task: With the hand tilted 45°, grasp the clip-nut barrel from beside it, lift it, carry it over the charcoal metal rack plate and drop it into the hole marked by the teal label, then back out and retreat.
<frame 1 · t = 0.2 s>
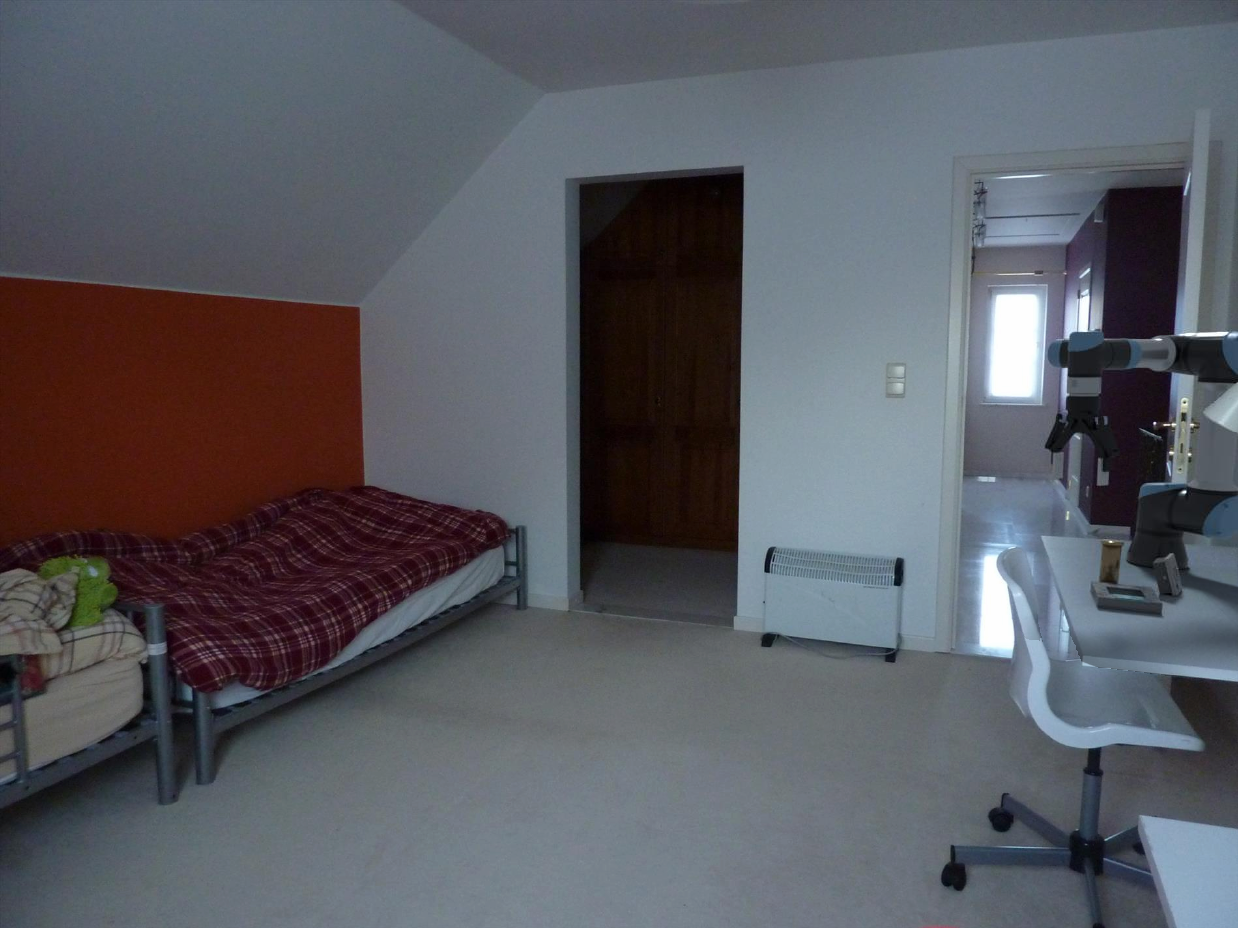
hand: (1079, 481, 225), 27 cm above the table, tool pointing down, fingers open, 13 cm apart
rack plate: (1124, 602, 217), on the table
clip-nut barrel: (1108, 583, 235), on the table
electrical switch: (1166, 592, 228), on the table
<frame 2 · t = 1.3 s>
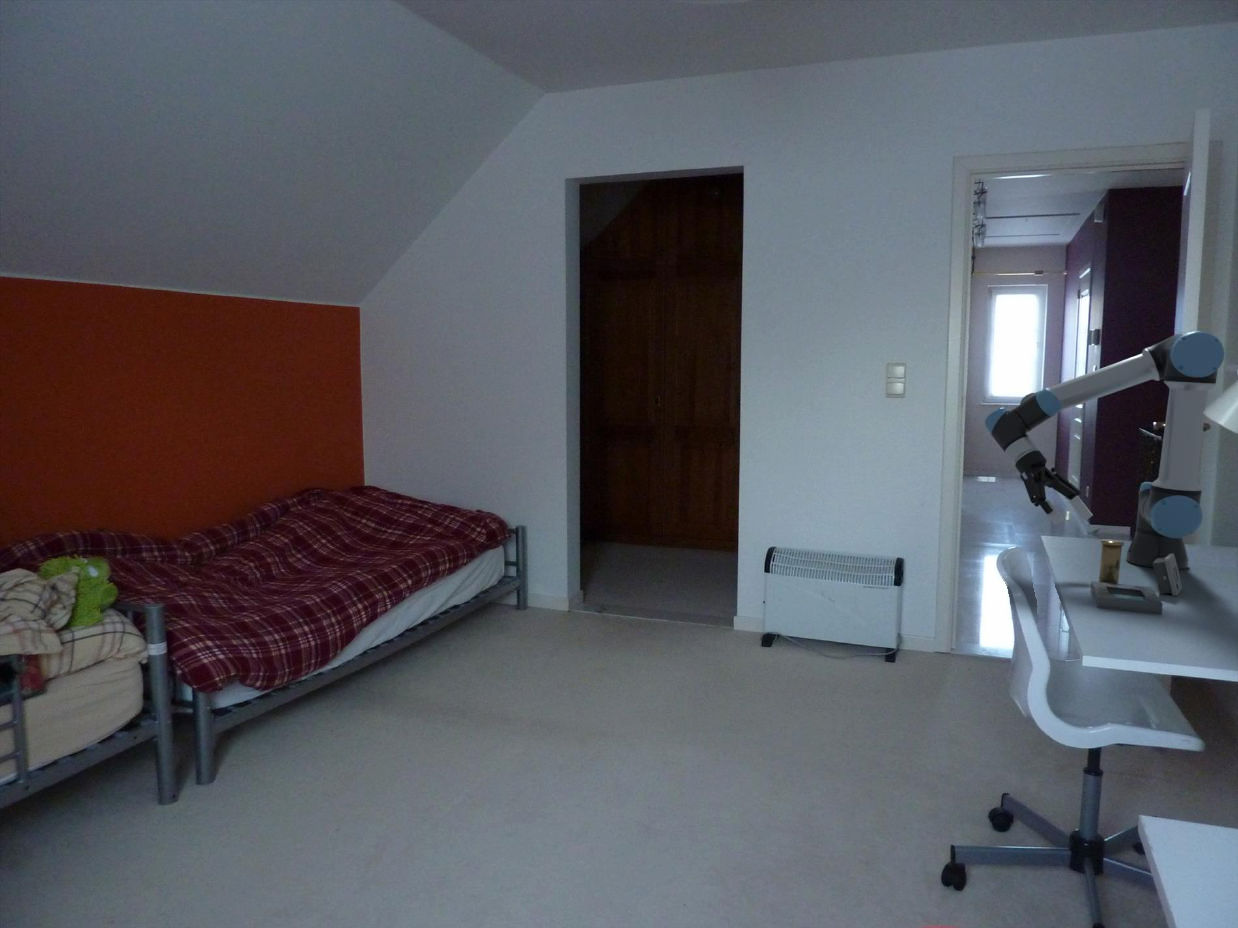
hand: (1074, 520, 241), 15 cm above the table, tool tilted 45°, fingers open, 13 cm apart
nothing on the table moved.
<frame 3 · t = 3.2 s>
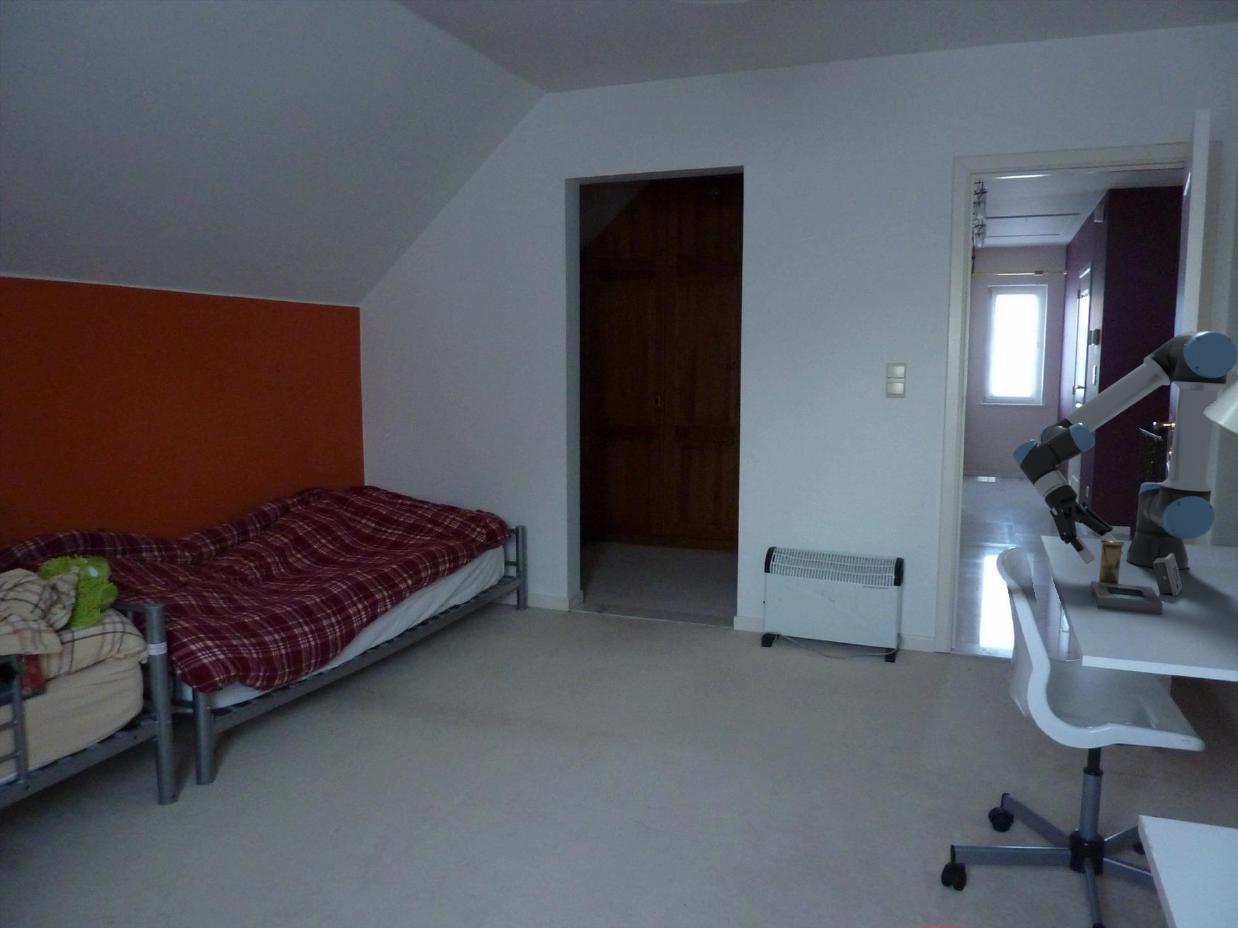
hand: (1106, 558, 234), 6 cm above the table, tool tilted 45°, fingers open, 13 cm apart
nothing on the table moved.
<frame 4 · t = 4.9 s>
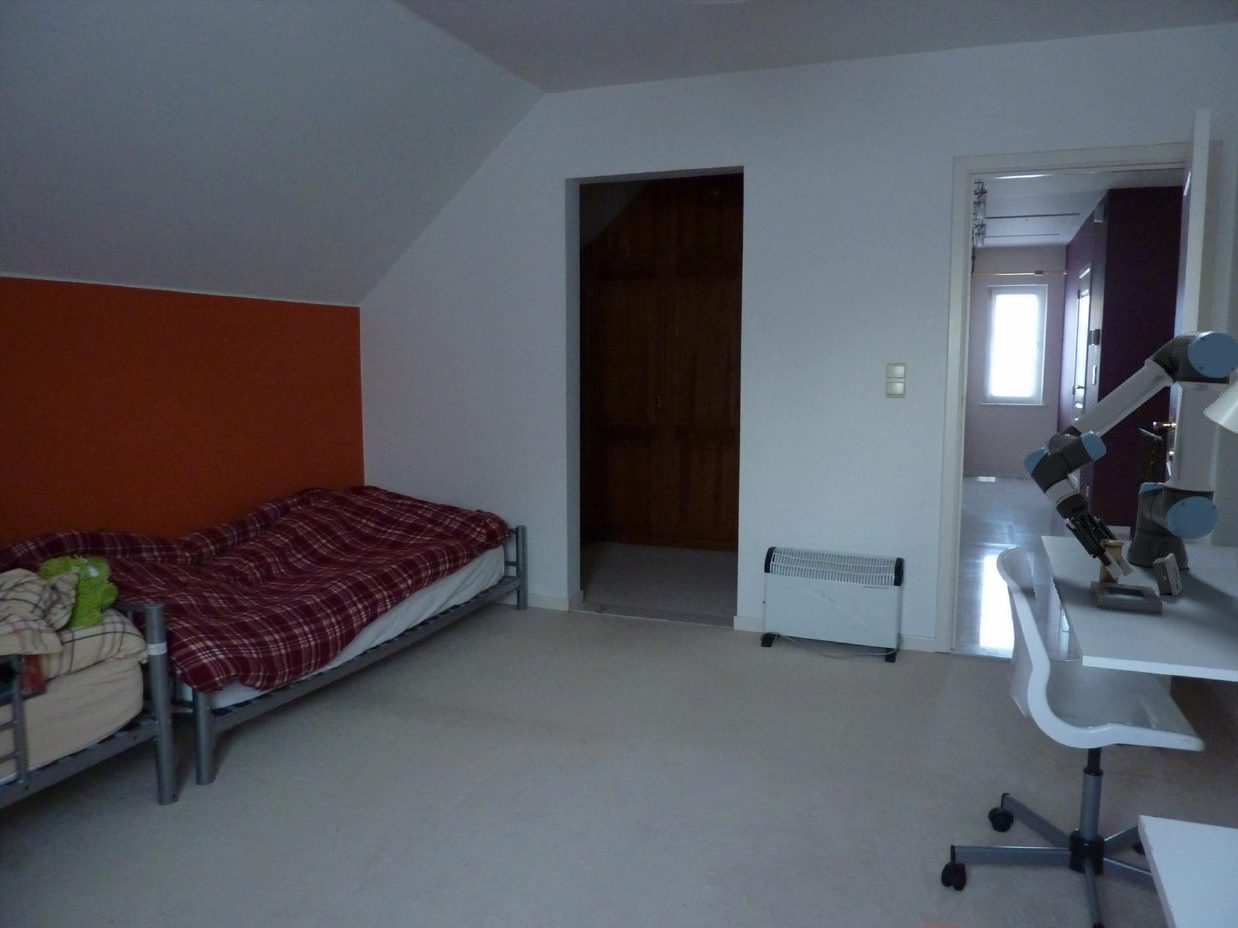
hand: (1124, 574, 231), 3 cm above the table, tool tilted 45°, fingers closed on clip-nut barrel, 4 cm apart
clip-nut barrel: (1108, 583, 235), on the table, touching gripper
everything else where it was.
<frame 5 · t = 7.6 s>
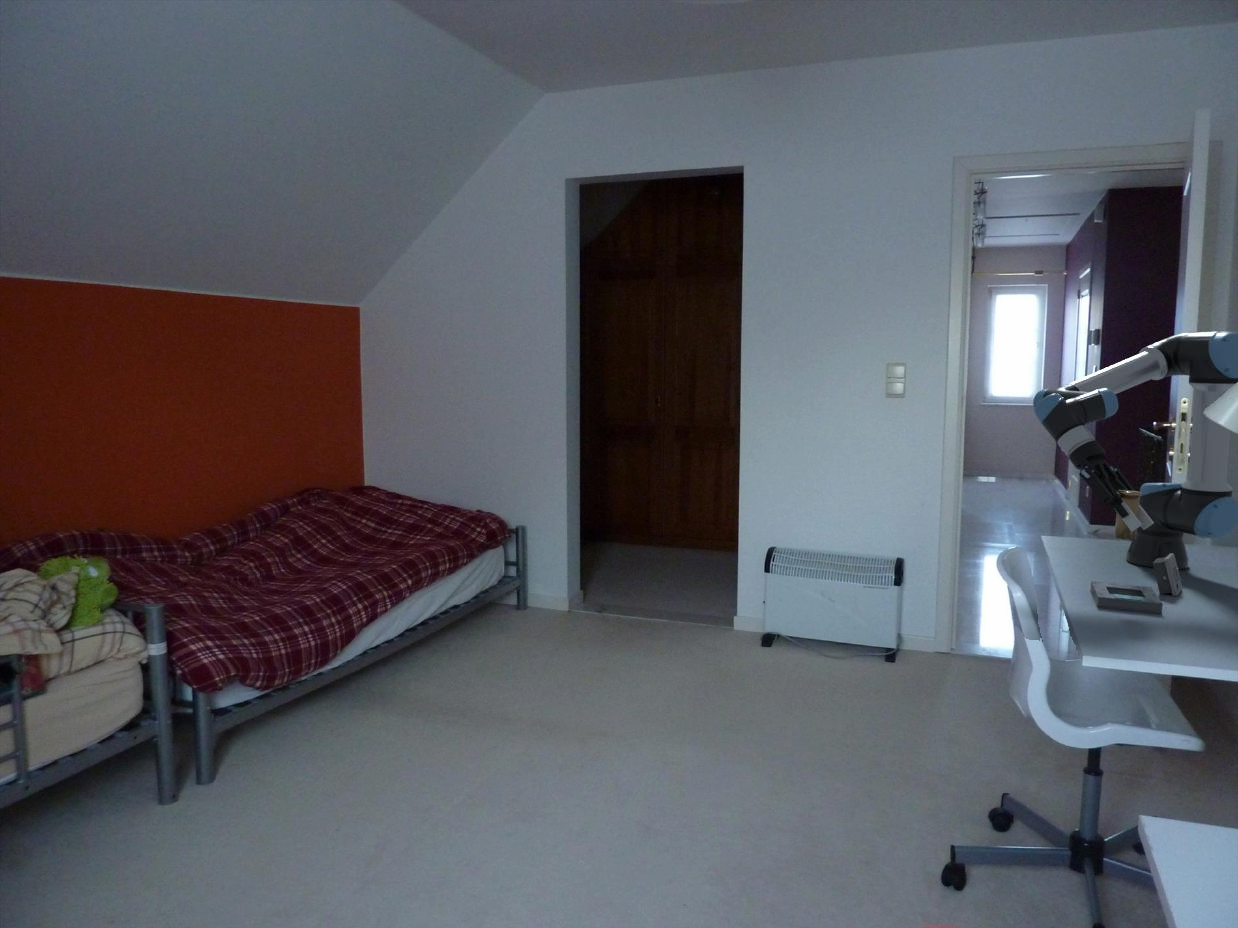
hand: (1142, 527, 213), 19 cm above the table, tool tilted 45°, fingers closed on clip-nut barrel, 4 cm apart
clip-nut barrel: (1124, 537, 217), point 15 cm above the table, touching gripper
everything else where it was.
when the fingers open (6 cm above the table, at t = 10.6 s): clip-nut barrel drops 3 cm, resting in rack plate.
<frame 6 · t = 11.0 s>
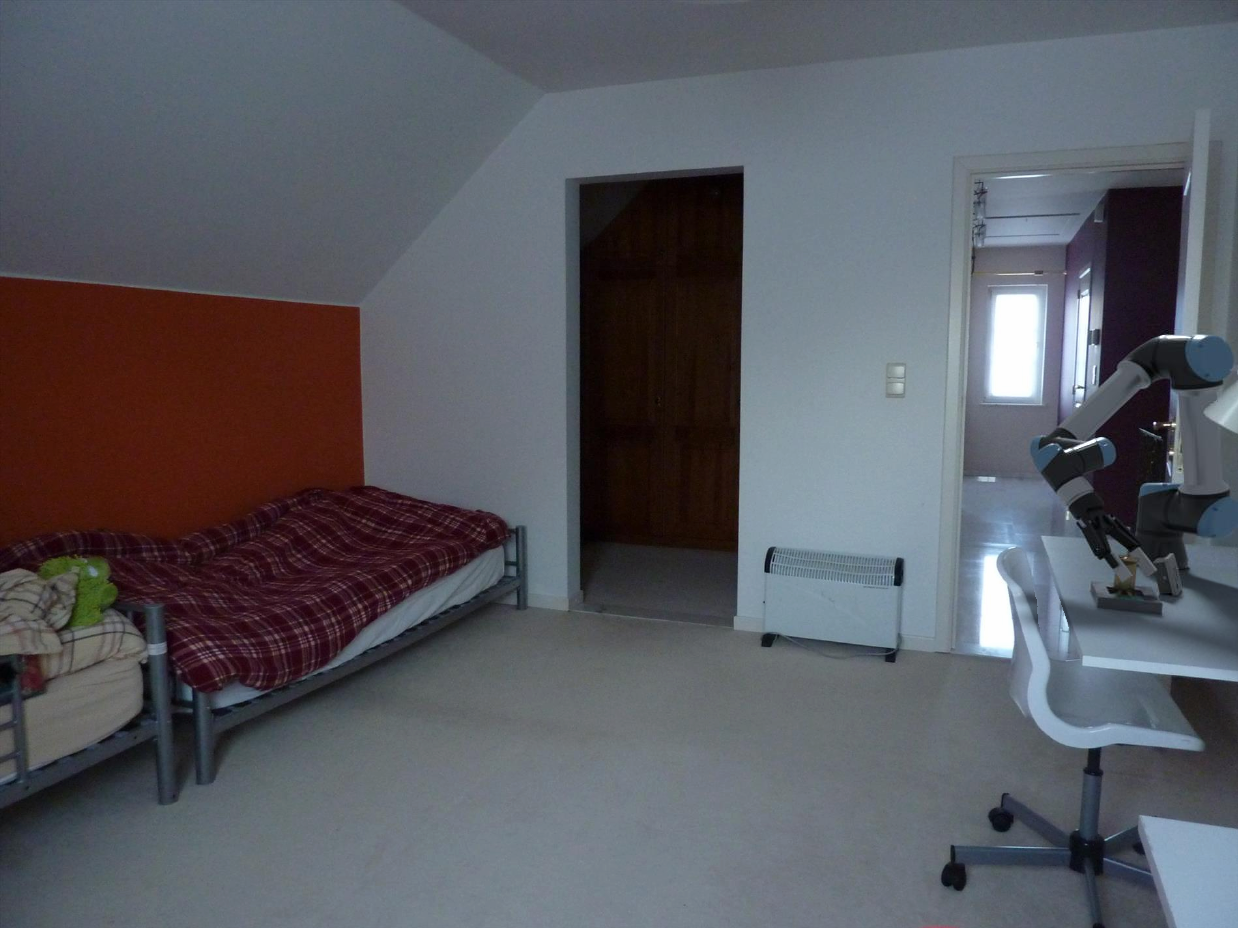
hand: (1139, 576, 214), 7 cm above the table, tool tilted 45°, fingers open, 10 cm apart
clip-nut barrel: (1122, 602, 217), resting in rack plate
everything else where it was.
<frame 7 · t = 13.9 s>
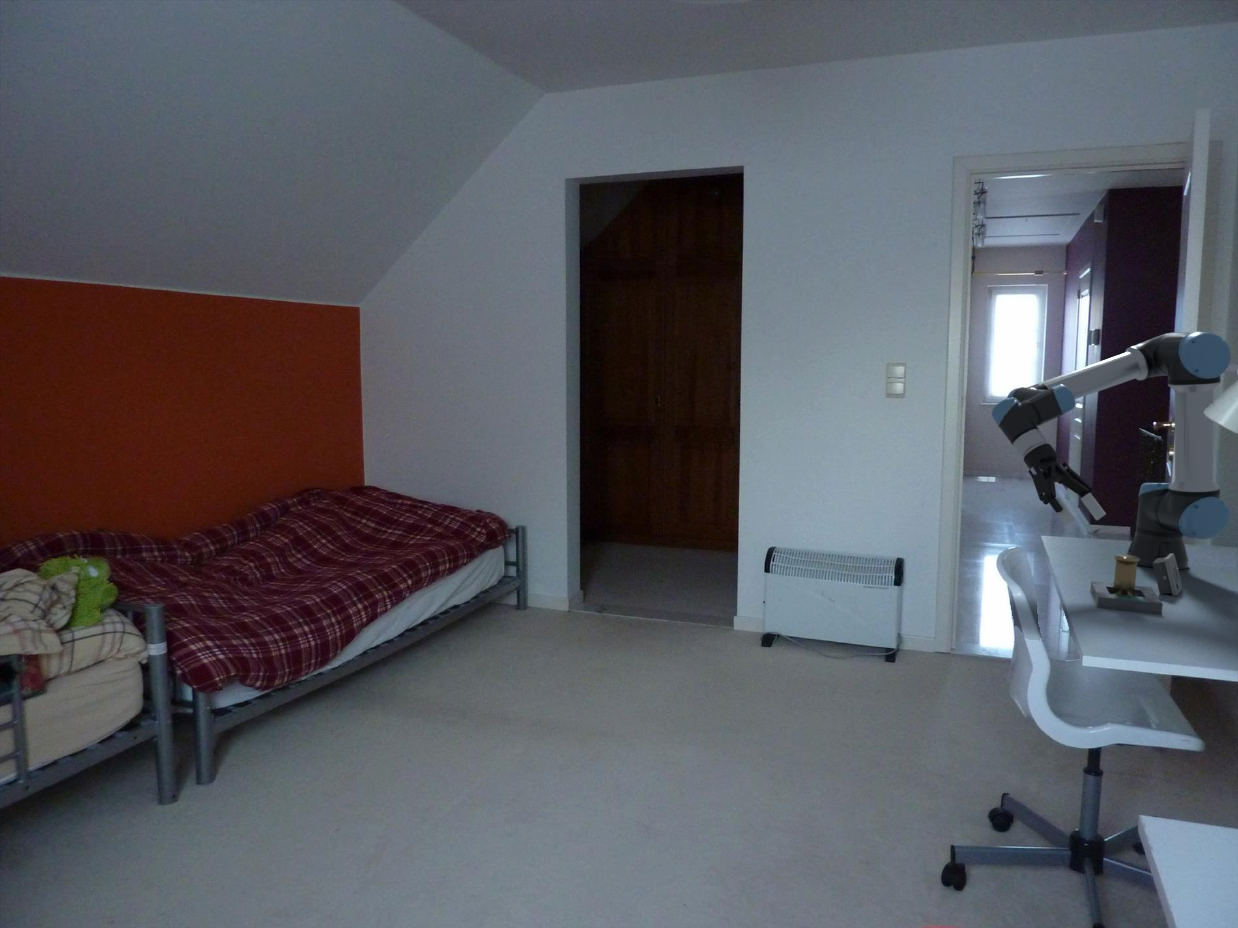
hand: (1086, 519, 225), 18 cm above the table, tool tilted 45°, fingers open, 13 cm apart
nothing on the table moved.
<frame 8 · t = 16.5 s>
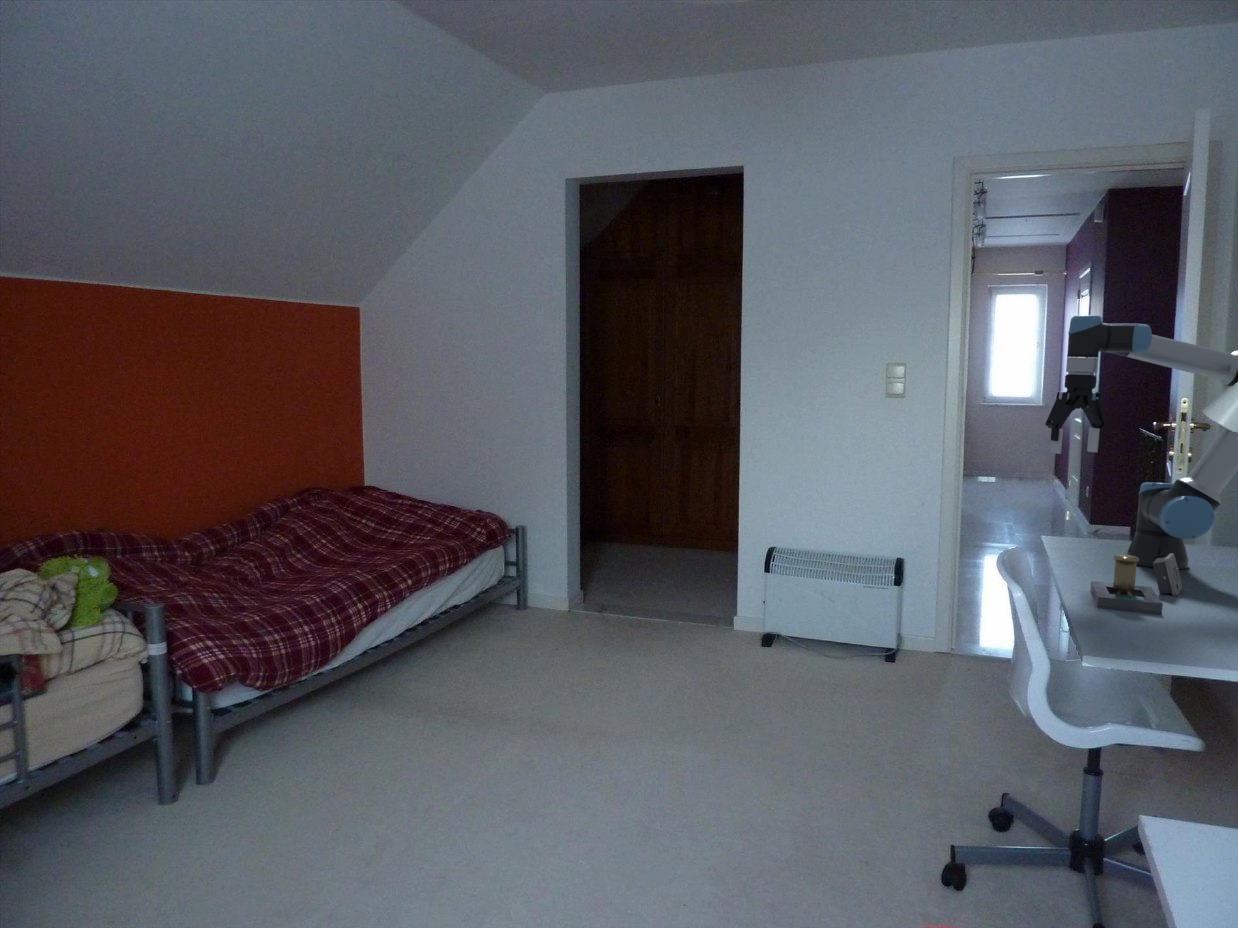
hand: (1074, 452, 248), 32 cm above the table, tool pointing down, fingers open, 13 cm apart
nothing on the table moved.
at the end: clip-nut barrel 0.7 cm off-centre on the rack plate, point 0.0 cm above the rack plate's base; clip-nut barrel tilted 0°; the gripper is holding nothing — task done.
